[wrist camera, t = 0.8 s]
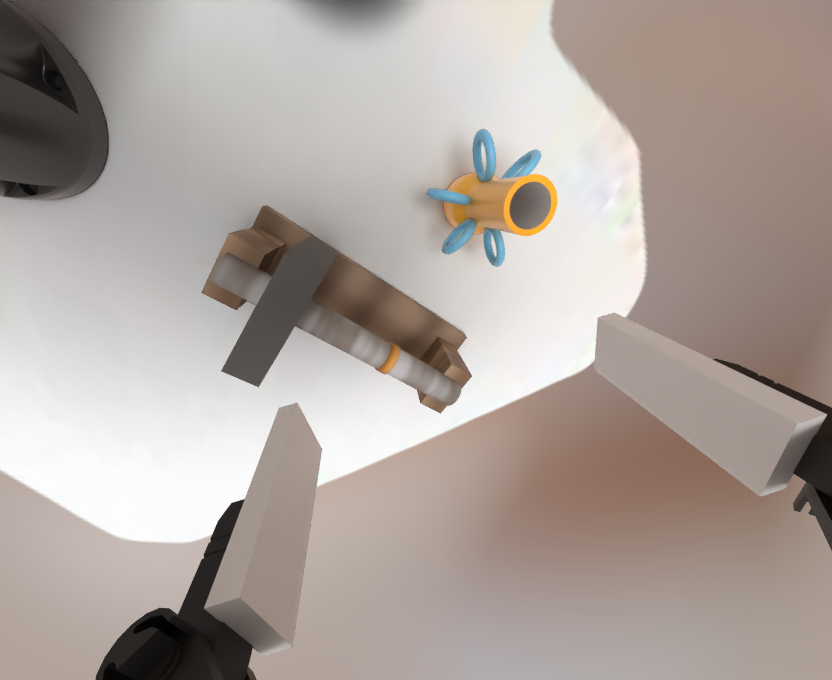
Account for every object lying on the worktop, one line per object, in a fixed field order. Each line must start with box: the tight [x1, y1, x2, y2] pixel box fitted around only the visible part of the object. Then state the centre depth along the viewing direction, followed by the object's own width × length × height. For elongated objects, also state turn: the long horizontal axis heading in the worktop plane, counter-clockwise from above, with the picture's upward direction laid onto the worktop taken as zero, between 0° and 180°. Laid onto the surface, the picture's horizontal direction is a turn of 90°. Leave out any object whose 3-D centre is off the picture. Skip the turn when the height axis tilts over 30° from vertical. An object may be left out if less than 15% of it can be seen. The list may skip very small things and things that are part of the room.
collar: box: [222, 236, 338, 387], centre depth 28 cm, size 3×11×11 cm, turn 144°
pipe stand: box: [201, 206, 472, 413], centre depth 34 cm, size 28×10×11 cm, turn 54°
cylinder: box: [427, 129, 557, 267], centre depth 28 cm, size 12×10×15 cm
